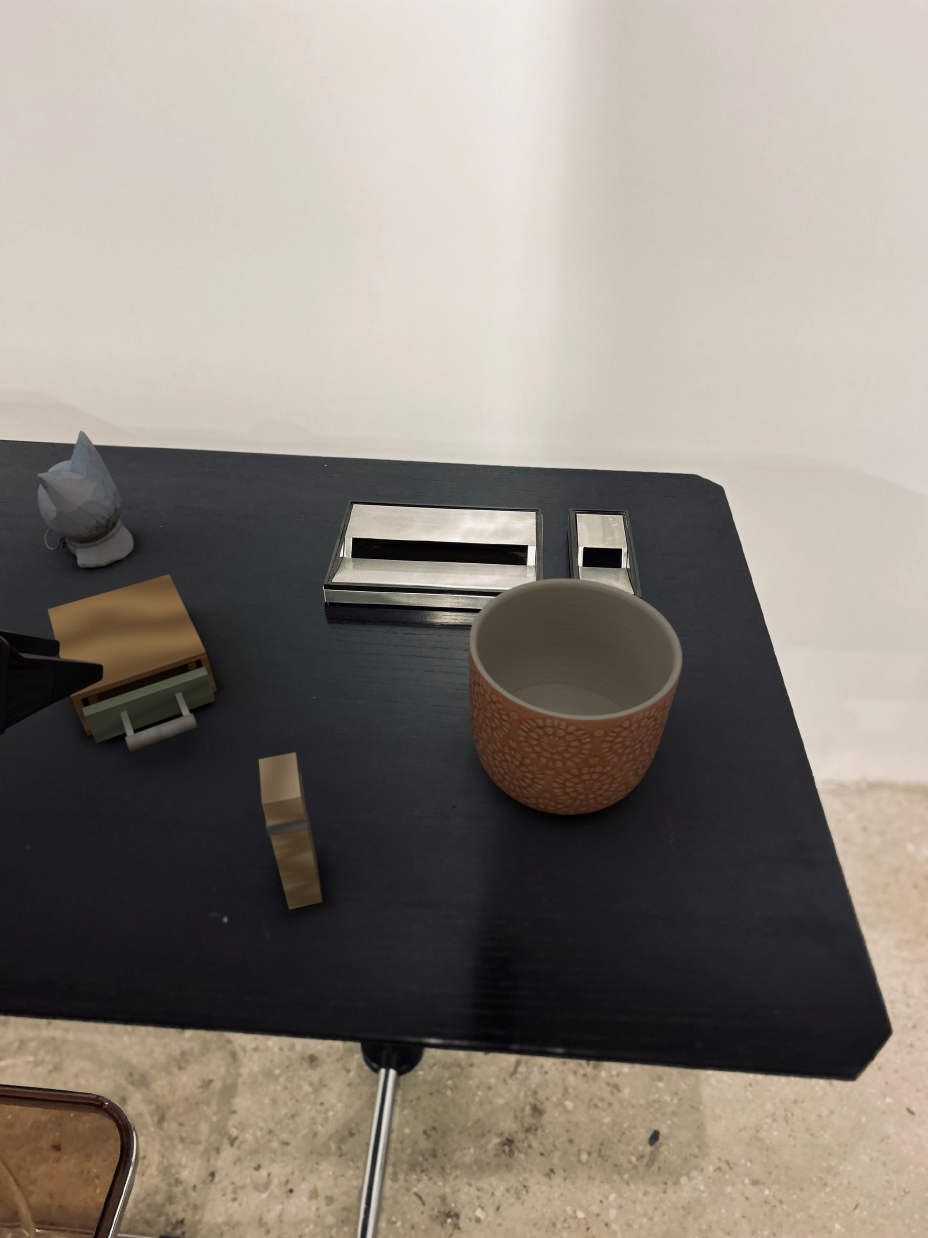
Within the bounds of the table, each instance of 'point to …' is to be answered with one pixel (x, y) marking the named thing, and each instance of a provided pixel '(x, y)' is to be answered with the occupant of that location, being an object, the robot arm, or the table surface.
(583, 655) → the planter
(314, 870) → the block
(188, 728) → the drawer
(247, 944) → the table surface
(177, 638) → the cabinet
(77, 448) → the figurine
